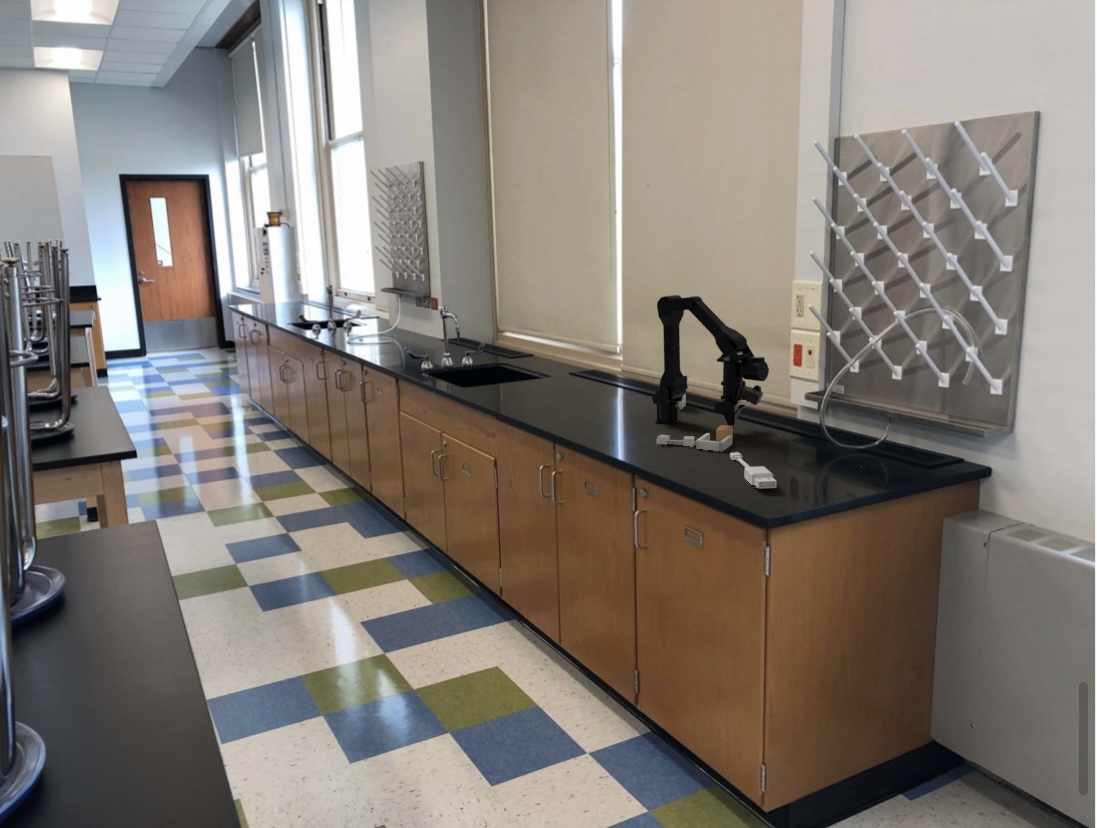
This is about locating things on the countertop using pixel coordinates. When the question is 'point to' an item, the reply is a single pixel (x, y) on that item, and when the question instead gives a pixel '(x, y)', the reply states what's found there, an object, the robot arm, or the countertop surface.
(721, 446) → the end holder
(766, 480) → the charging cable
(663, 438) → the clip
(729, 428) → the tan rectangular block
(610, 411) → the countertop surface
